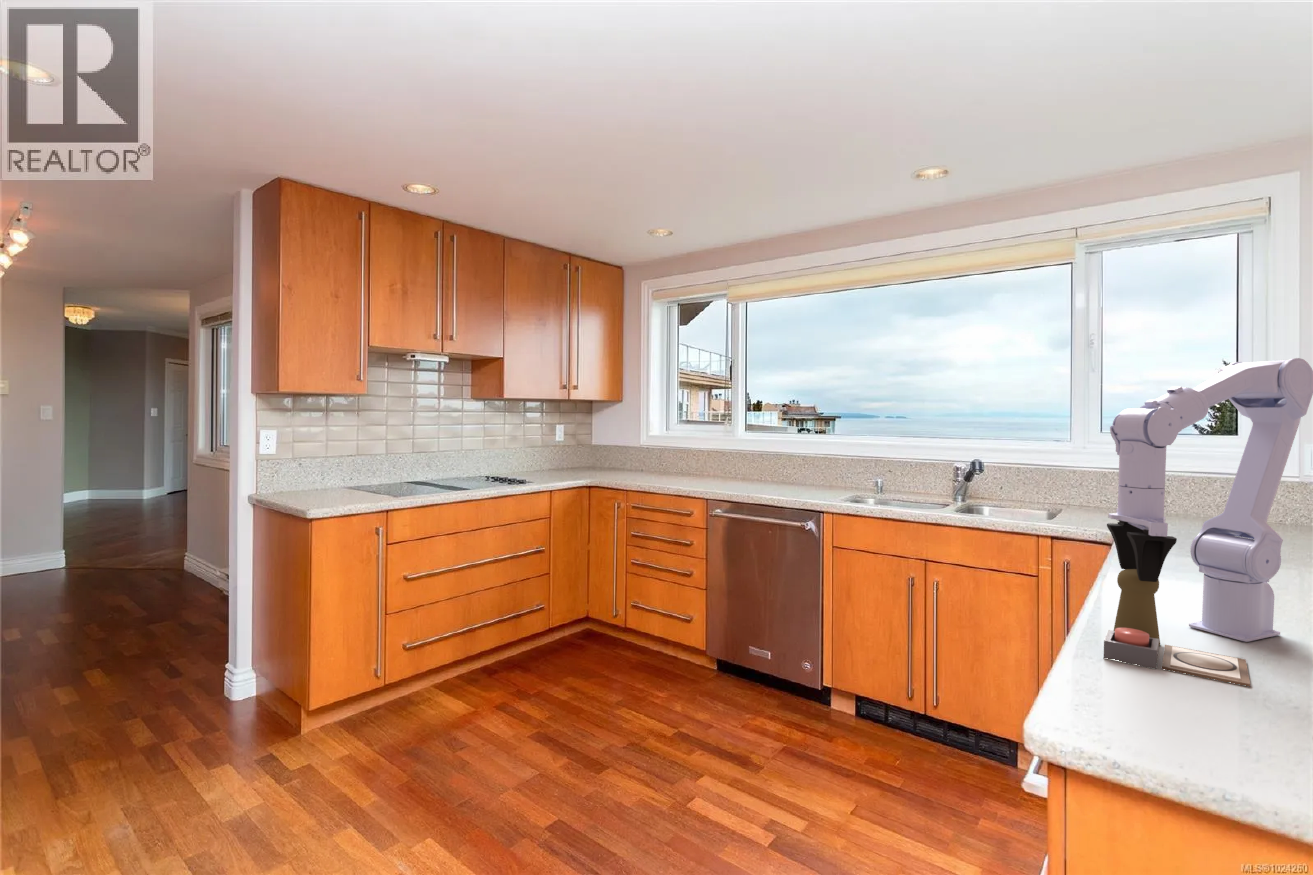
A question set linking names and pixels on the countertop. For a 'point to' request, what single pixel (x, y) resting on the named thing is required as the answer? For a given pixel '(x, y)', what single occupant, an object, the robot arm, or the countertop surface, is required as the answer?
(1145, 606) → the brown tapered cone
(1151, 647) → the button housing
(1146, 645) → the button
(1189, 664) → the sketch board
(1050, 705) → the countertop surface
